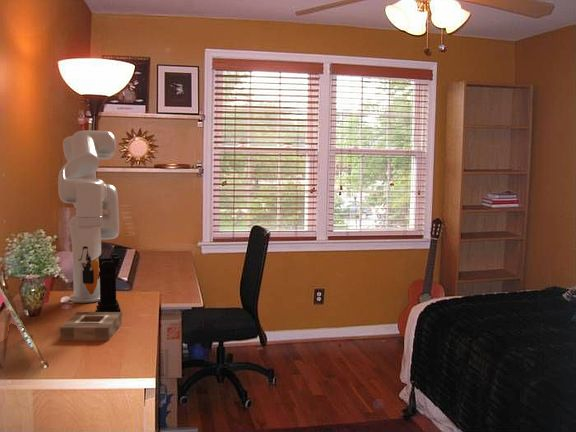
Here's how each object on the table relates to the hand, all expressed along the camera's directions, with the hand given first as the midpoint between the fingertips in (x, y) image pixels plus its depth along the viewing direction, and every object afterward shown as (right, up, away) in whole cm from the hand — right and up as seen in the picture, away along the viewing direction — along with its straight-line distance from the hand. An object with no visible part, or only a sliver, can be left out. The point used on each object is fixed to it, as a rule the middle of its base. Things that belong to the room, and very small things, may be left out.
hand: (91, 280), depth 185 cm
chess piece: (-1, -14, +21) cm, 25 cm away
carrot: (0, -5, +1) cm, 5 cm away
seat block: (0, -16, +2) cm, 16 cm away
